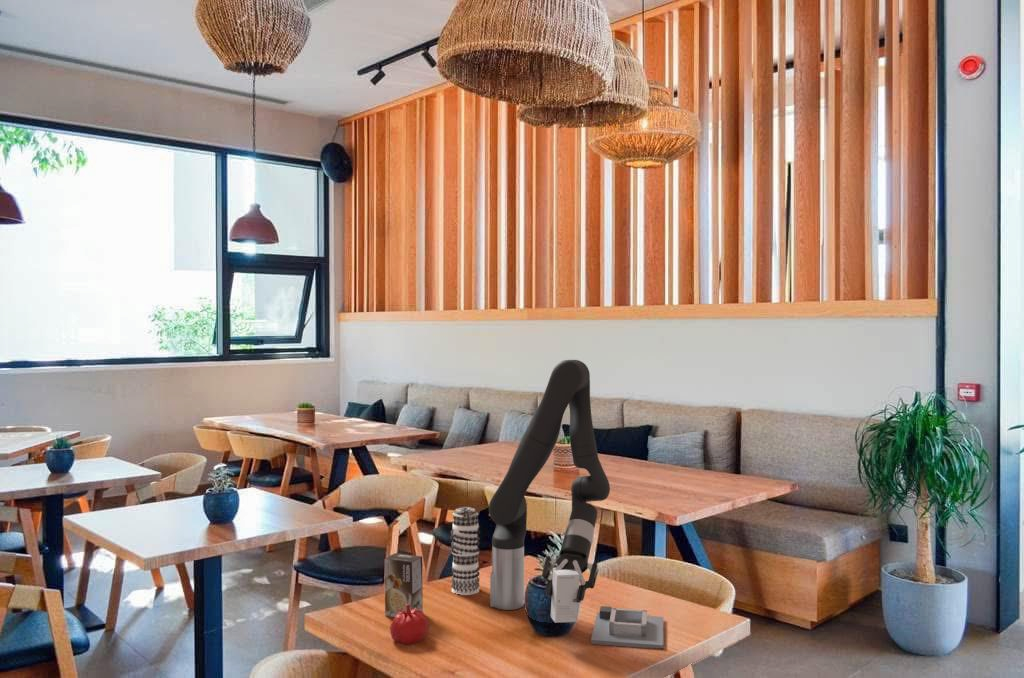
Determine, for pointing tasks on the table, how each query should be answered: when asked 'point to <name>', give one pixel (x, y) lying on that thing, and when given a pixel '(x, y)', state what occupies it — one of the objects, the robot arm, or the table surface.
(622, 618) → the guard collar
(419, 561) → the coffee box
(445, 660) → the table surface
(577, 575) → the skincare box
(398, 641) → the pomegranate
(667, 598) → the table surface
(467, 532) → the decorative candle
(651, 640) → the grey holder base
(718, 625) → the table surface
